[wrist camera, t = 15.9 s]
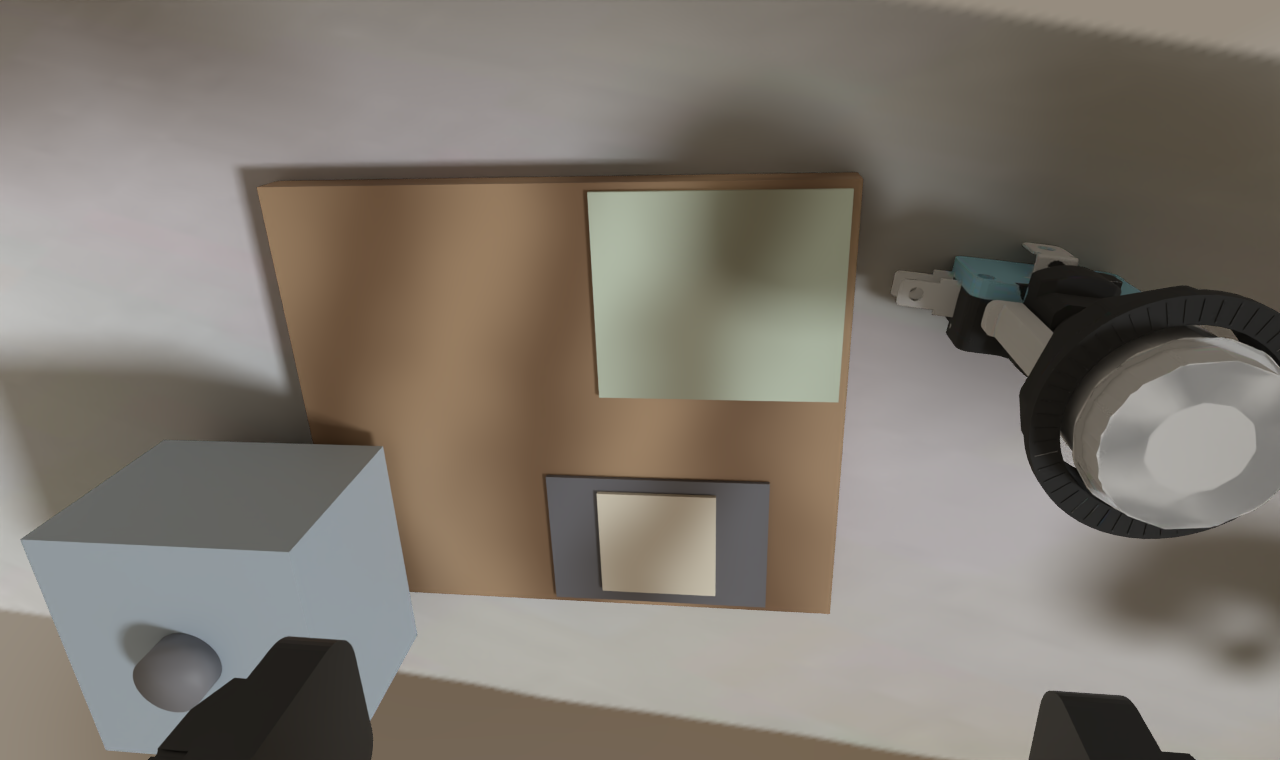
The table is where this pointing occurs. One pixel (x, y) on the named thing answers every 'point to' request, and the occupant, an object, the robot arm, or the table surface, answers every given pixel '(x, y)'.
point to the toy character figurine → (1124, 387)
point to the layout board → (586, 374)
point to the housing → (221, 575)
